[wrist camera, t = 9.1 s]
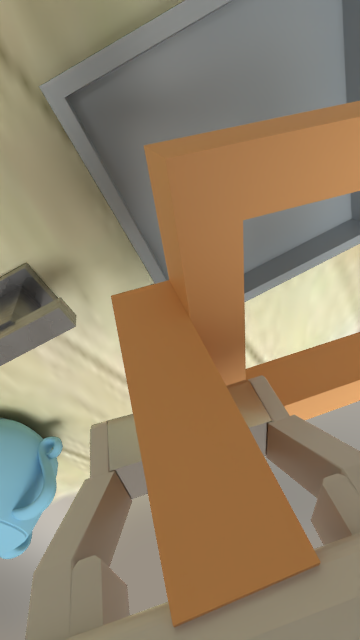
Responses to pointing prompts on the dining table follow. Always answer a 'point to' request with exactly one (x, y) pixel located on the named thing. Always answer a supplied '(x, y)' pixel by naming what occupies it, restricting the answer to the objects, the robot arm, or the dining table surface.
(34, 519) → the decorative pot
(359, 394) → the ring
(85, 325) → the dining table surface
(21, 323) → the grey angular piece
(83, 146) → the tray
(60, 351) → the dining table surface
